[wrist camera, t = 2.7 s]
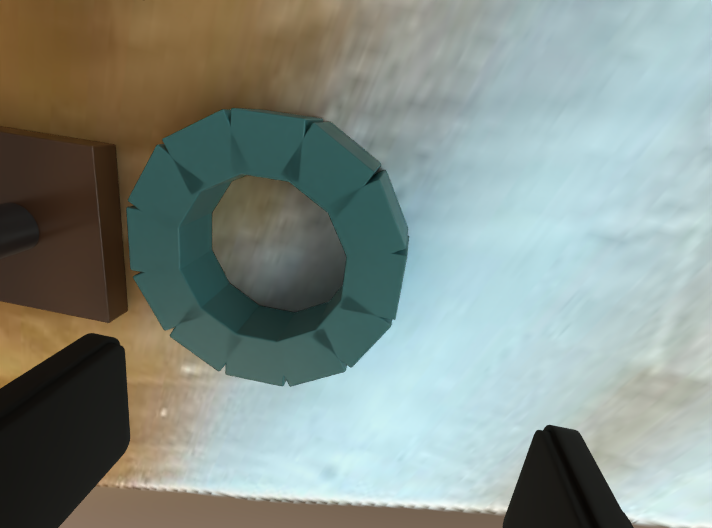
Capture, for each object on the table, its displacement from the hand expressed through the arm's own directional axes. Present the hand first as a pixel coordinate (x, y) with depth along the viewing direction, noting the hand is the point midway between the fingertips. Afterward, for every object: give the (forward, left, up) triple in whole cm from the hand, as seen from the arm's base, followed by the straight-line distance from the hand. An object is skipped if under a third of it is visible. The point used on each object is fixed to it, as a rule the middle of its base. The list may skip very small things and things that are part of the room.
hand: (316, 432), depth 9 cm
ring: (+4, 0, -11) cm, 12 cm away
